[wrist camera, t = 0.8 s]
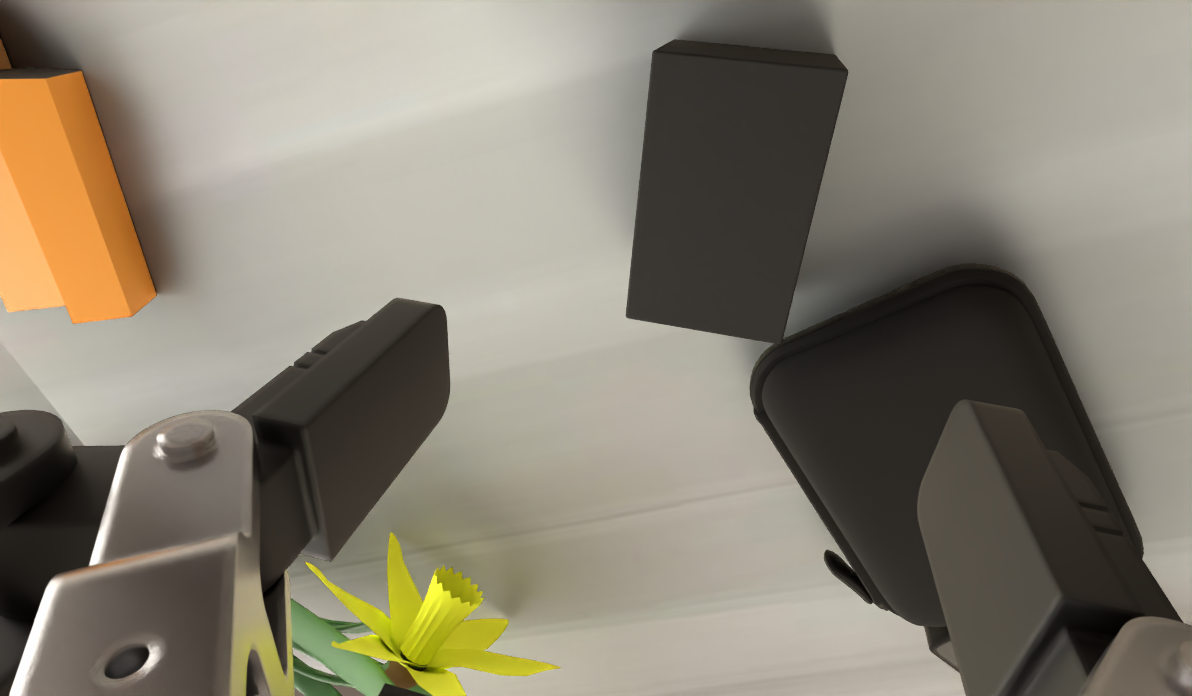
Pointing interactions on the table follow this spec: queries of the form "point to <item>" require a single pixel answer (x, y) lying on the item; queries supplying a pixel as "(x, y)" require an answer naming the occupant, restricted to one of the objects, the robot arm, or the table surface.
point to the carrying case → (914, 416)
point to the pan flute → (62, 203)
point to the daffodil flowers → (402, 638)
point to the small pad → (729, 184)
